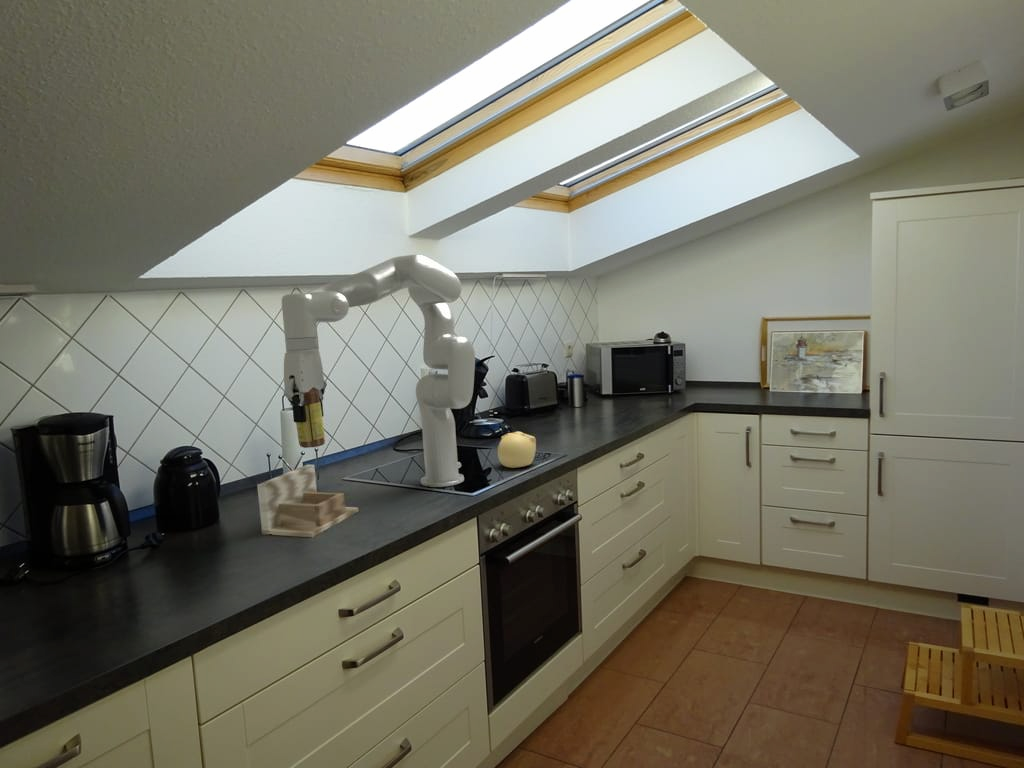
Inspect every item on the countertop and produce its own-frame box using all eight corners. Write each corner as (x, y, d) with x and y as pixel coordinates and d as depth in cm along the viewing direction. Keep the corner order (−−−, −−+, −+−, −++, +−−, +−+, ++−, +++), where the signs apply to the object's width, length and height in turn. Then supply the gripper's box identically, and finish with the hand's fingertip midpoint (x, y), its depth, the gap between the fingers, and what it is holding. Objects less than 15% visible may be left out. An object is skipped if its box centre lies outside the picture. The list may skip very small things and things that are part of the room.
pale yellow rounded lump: (541, 462, 225) (539, 428, 224) (527, 471, 214) (525, 436, 213) (507, 461, 229) (505, 428, 228) (492, 470, 218) (490, 435, 217)
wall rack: (312, 509, 187) (307, 464, 186) (358, 511, 182) (354, 465, 181) (262, 534, 168) (257, 484, 167) (312, 537, 164) (307, 486, 162)
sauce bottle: (324, 442, 176) (317, 362, 174) (326, 446, 170) (319, 364, 168) (297, 445, 174) (289, 364, 172) (297, 449, 168) (290, 366, 166)
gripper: (310, 343, 179) (316, 413, 181) (265, 348, 163) (273, 426, 165) (335, 342, 176) (342, 413, 178) (293, 347, 160) (300, 426, 162)
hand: (308, 418), depth 172 cm, fingers closed on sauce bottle, 6 cm apart
